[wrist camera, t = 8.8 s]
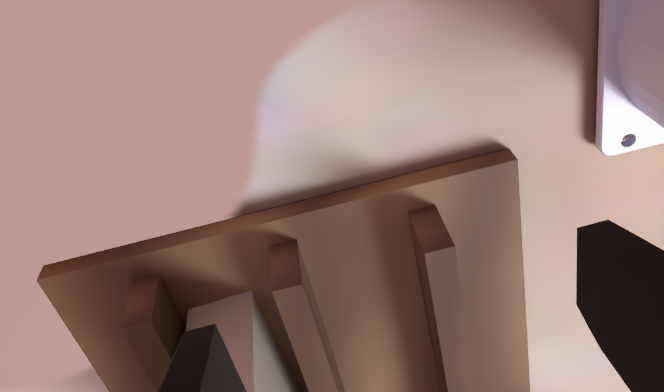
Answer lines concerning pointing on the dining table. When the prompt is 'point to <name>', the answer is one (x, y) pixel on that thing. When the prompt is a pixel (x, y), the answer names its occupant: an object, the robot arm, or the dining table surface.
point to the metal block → (247, 342)
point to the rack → (329, 286)
